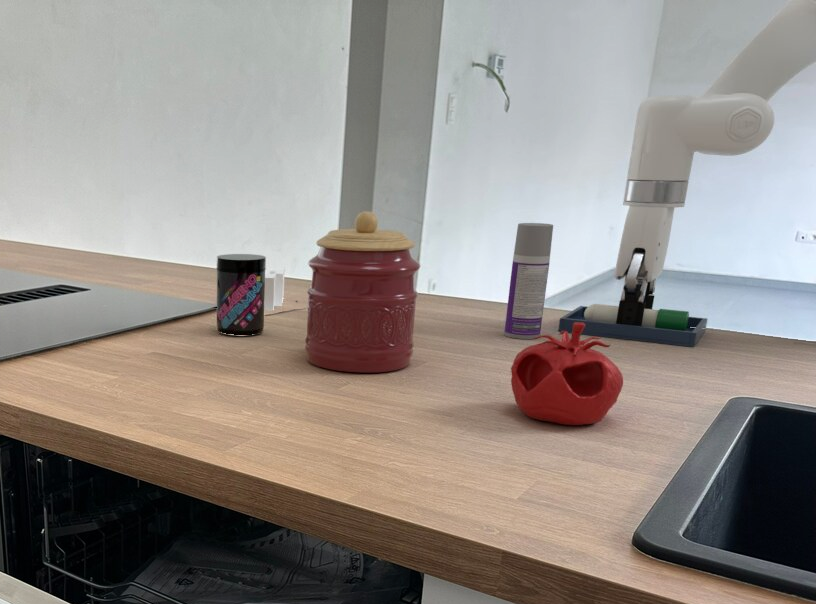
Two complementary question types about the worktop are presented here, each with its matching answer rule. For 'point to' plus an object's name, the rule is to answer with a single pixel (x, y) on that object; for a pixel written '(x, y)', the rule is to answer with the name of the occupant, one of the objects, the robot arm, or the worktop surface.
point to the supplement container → (240, 293)
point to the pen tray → (635, 330)
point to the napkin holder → (274, 288)
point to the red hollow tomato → (565, 380)
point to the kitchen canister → (362, 299)
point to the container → (528, 280)
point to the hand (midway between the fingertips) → (632, 325)
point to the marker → (650, 317)
